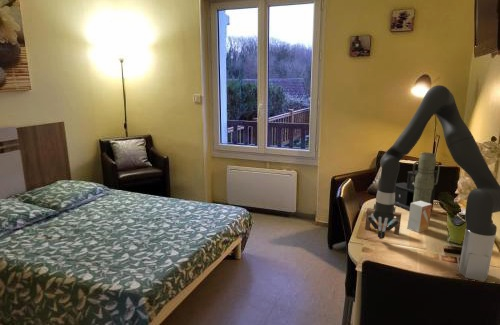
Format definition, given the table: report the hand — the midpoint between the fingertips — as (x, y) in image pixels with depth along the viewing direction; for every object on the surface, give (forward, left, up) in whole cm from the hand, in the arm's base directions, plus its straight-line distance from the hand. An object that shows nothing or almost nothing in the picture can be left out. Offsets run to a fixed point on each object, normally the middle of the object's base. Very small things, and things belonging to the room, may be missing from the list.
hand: (380, 238), depth 160 cm
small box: (+23, -16, -2) cm, 28 cm away
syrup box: (+15, -31, -2) cm, 34 cm away
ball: (+15, 0, +2) cm, 15 cm away
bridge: (+13, 0, -2) cm, 13 cm away
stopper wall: (+42, 0, -2) cm, 42 cm away
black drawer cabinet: (+56, -13, -2) cm, 57 cm away
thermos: (+36, -17, -2) cm, 40 cm away
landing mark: (+27, 0, -2) cm, 27 cm away
